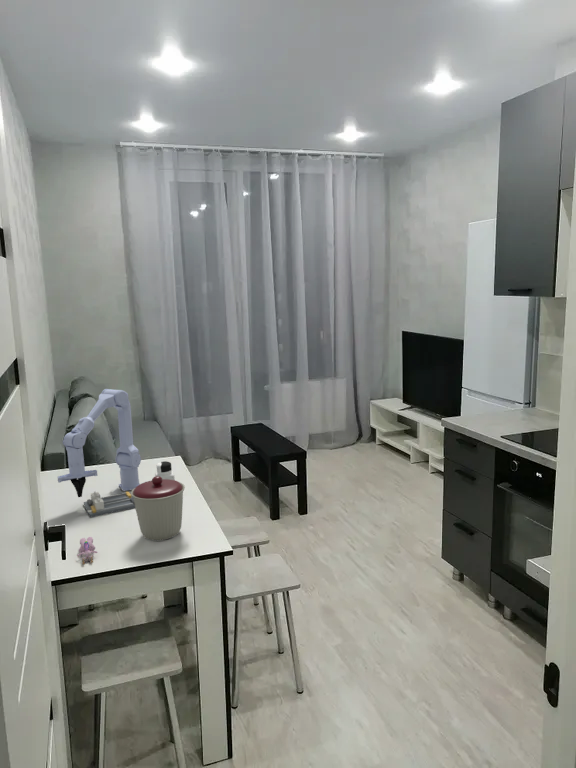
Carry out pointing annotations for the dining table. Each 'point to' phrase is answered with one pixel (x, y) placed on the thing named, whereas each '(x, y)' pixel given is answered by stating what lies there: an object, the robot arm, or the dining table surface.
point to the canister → (159, 507)
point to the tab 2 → (99, 504)
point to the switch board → (111, 504)
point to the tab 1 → (94, 496)
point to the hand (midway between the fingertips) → (79, 496)
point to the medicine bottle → (165, 470)
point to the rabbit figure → (87, 549)
